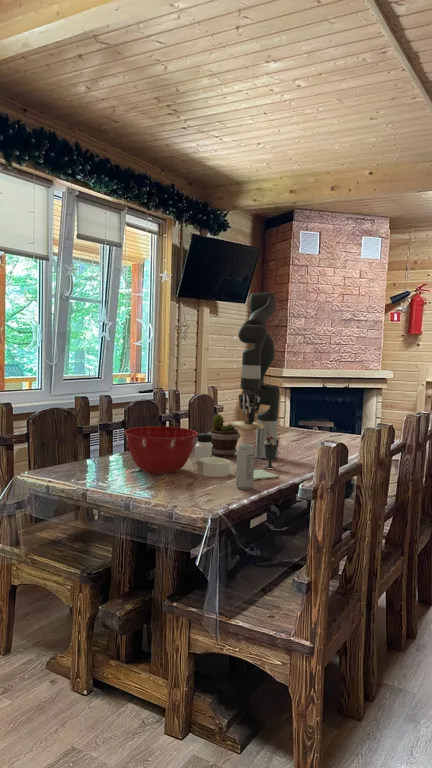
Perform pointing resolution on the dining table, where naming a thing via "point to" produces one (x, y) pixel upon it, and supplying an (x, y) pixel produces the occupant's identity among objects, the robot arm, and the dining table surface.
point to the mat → (262, 475)
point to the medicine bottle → (203, 447)
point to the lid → (248, 423)
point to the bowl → (214, 467)
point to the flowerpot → (223, 438)
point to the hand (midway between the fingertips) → (248, 421)
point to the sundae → (270, 450)
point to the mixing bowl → (160, 447)
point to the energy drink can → (245, 466)
